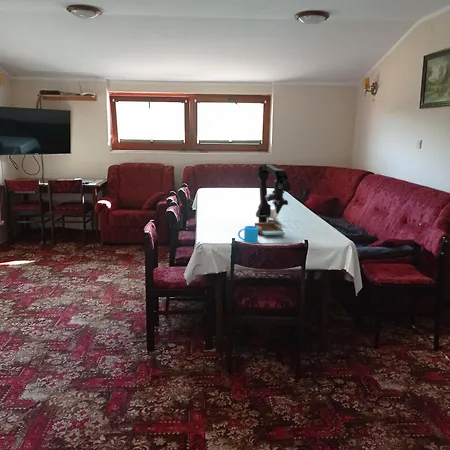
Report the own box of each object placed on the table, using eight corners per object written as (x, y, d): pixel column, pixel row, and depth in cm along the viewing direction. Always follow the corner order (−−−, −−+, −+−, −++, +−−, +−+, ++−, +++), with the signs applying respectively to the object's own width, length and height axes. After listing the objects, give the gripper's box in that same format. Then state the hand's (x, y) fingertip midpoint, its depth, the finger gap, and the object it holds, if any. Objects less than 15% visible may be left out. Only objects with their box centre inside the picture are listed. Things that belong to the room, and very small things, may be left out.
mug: (256, 239, 252) (257, 225, 250) (258, 242, 244) (259, 229, 242) (236, 239, 251) (237, 225, 249) (238, 242, 243) (239, 228, 241)
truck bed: (252, 231, 272) (253, 222, 271) (276, 230, 276) (276, 222, 275) (258, 235, 261) (259, 226, 259) (283, 234, 265) (283, 226, 264)
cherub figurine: (276, 205, 311) (284, 207, 292) (275, 221, 313) (283, 224, 293) (259, 204, 309) (266, 206, 290) (258, 221, 311) (265, 224, 291)
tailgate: (260, 231, 260) (264, 233, 254) (281, 230, 264) (285, 232, 258) (260, 233, 261) (264, 235, 254) (281, 232, 264) (285, 234, 258)
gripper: (261, 187, 271) (260, 211, 274) (272, 191, 253) (270, 216, 256) (277, 187, 273) (276, 210, 277) (289, 191, 256) (287, 216, 259)
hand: (277, 213), depth 267 cm, fingers closed
